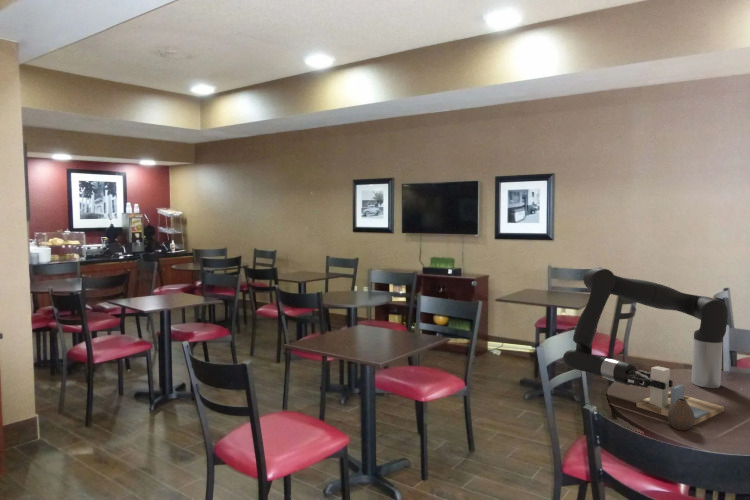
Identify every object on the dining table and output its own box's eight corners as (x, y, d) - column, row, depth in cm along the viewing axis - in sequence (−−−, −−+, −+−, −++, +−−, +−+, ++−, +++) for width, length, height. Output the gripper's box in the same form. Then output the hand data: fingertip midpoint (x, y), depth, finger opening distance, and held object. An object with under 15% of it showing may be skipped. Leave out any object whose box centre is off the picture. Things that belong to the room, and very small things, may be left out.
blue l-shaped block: (680, 405, 167) (681, 383, 166) (707, 413, 160) (708, 390, 160) (668, 410, 162) (669, 388, 162) (695, 418, 156) (696, 395, 155)
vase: (690, 425, 157) (692, 397, 156) (696, 434, 150) (698, 405, 150) (665, 421, 159) (666, 394, 159) (670, 430, 153) (671, 402, 152)
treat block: (655, 400, 172) (657, 365, 171) (667, 404, 168) (669, 368, 167) (649, 403, 169) (651, 367, 168) (661, 407, 166) (663, 371, 165)
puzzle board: (666, 396, 182) (666, 390, 182) (723, 412, 167) (723, 406, 167) (636, 407, 170) (636, 401, 170) (694, 426, 156) (694, 420, 156)
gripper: (607, 364, 176) (658, 377, 162) (629, 357, 184) (680, 370, 170) (606, 385, 176) (656, 401, 162) (628, 378, 184) (678, 392, 170)
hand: (668, 385), depth 166 cm, fingers closed on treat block, 4 cm apart
